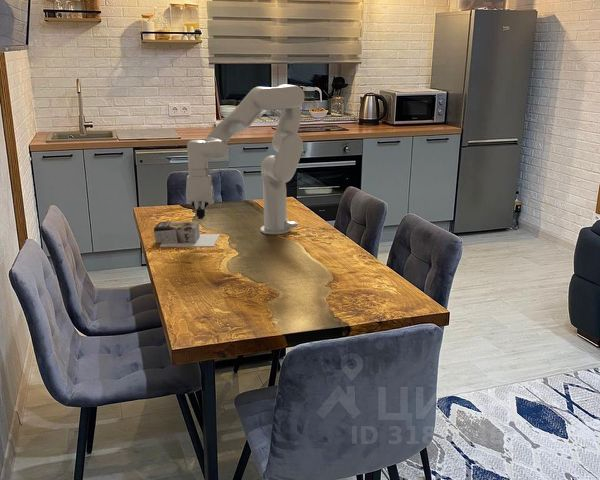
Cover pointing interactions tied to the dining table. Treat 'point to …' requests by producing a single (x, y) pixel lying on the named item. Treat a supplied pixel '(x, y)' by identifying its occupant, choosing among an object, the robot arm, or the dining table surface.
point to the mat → (202, 241)
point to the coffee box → (176, 232)
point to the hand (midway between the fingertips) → (200, 218)
